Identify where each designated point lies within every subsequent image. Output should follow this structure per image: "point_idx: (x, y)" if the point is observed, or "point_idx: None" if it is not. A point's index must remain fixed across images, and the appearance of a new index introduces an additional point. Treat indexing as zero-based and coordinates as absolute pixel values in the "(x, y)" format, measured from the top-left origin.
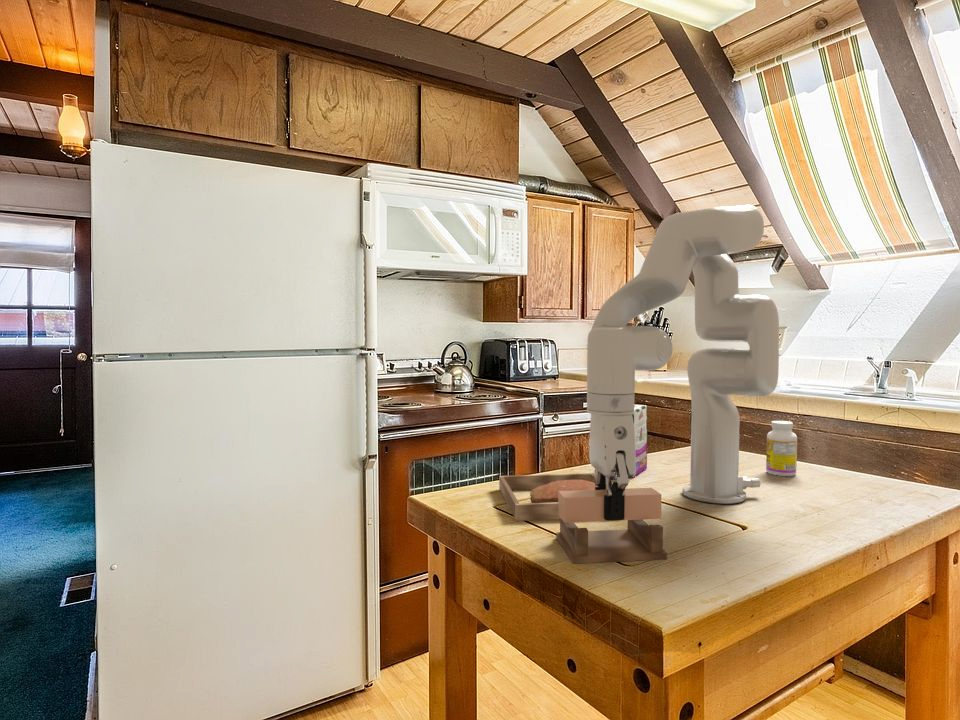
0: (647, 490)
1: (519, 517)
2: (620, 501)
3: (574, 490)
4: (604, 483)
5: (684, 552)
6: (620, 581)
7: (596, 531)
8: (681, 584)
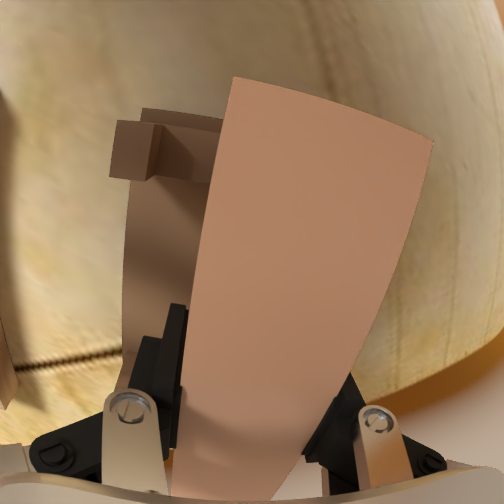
0: (303, 169)
1: (14, 384)
2: (362, 402)
3: (172, 493)
4: (165, 448)
5: (347, 69)
6: (407, 334)
7: (131, 279)
8: (473, 227)
